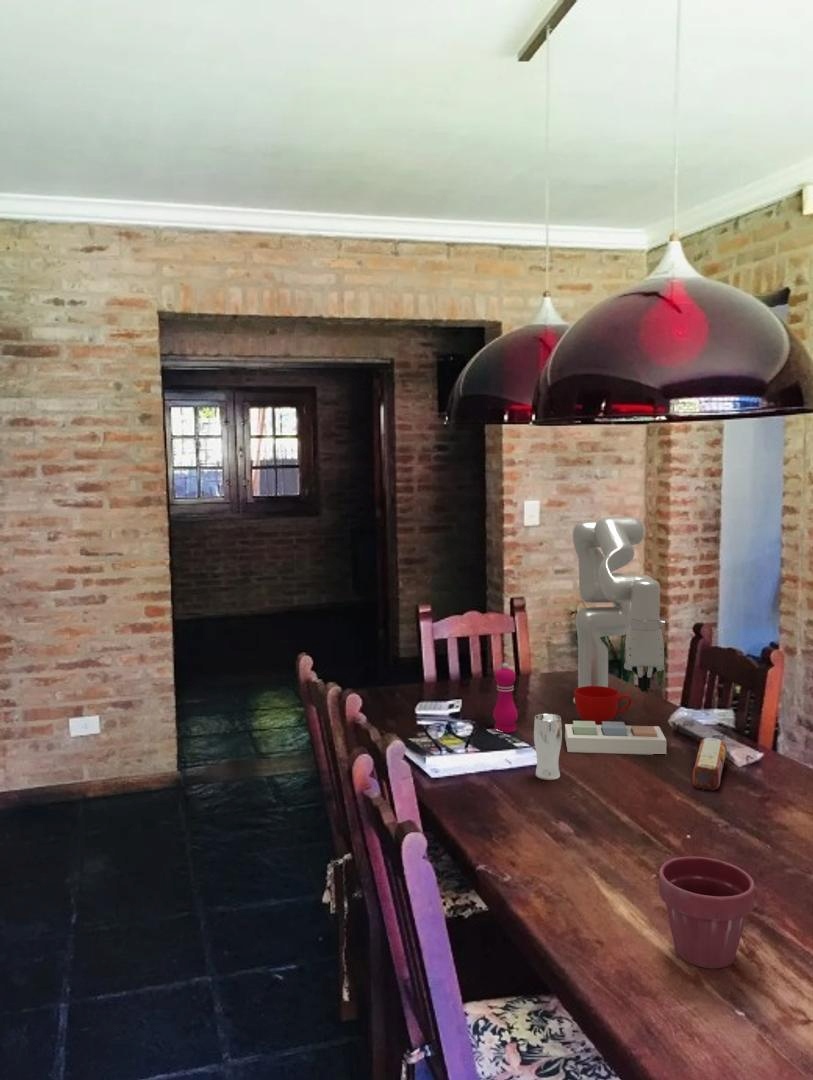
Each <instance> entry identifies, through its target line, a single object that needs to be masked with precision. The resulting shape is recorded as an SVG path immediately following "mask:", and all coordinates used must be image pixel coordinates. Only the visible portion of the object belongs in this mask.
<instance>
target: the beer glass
mask: <svg viewBox="0 0 813 1080" xmlns="http://www.w3.org/2000/svg"><path fill="white" fill-rule="evenodd" d="M562 727H563V725H562V717H561V716H560V715H559V714H558V715H557V714H554V713H540V714H539V713H538V714H536V715H535V716H534V724H533V742H534V747H535V753H536V768H535V769H536V770H535V777H537V778H538V779H540V780H546V781H553V780H558V779H559V778H560V777H561V773H560V772H561V771H560V767H559V759H560V752H561V747H562V739H563V729H562Z"/></svg>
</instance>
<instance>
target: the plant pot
mask: <svg viewBox="0 0 813 1080" xmlns="http://www.w3.org/2000/svg"><path fill="white" fill-rule="evenodd" d="M658 874H659V875H658V892H659V896H660V898H661V899H662V901H663V902H664V903H665V907H666V913H667V917H668V923H669V927H670V932H671V936H672V941H673V945H674V949H675V951H676V954H677V955H678V956H679V957H681V959H683V960H684V961H686V962H687V963H689V964H692V965H694V966H696V967H700V968H705V969H721V968H726V967H729V966H730V965H732V964H733V963H734V961H735V959H736V955H737V953H738V948H739V945H740V942H741V938H742V935H743V930H744V927H745V923H746V917H747V916H748V915H749V914H750V913H752V911H753V910H754V907H755V906H754V904H755V882H754V879H753V878H752V877H751V875H750V874H748V873H747V871H745V870H743V869H741V868H740V867H738V866H737V865H734V864H731V863H730V862H726V861H723V860H721V859H720V860H719V859H715V858H712V857H711V858H710V857H703V856H681V857H675V858H672V859H669V860H667V861H665V862H664V863H663V864H662V865H661V866H660V867H659V873H658Z"/></svg>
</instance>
